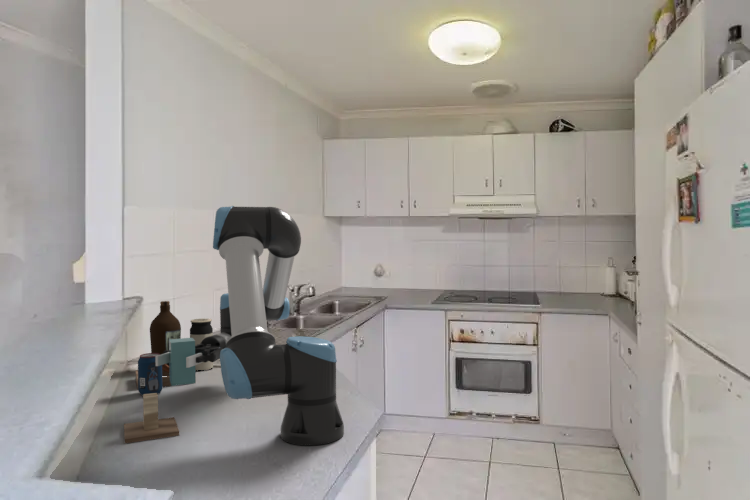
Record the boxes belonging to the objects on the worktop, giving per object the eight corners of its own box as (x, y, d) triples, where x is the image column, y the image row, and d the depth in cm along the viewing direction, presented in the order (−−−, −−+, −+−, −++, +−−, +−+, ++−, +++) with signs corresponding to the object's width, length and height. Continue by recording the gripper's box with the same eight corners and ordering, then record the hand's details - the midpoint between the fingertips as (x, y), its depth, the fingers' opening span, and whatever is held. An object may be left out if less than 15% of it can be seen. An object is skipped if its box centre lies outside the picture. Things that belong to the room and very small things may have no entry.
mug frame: (193, 383, 183) (193, 374, 183) (137, 389, 176) (137, 380, 176) (188, 373, 197) (187, 365, 197) (135, 379, 190) (135, 370, 189)
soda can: (149, 389, 176) (149, 351, 176) (167, 391, 174) (166, 353, 173) (133, 395, 170) (132, 356, 169) (151, 397, 167) (150, 357, 167)
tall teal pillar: (195, 383, 152) (195, 340, 152) (171, 385, 150) (170, 342, 150) (192, 378, 158) (192, 337, 158) (169, 381, 155) (168, 339, 155)
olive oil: (143, 371, 200) (142, 302, 200) (166, 365, 210) (165, 299, 209) (165, 374, 196) (164, 303, 195) (187, 368, 205) (186, 300, 205)
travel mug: (204, 372, 199) (203, 321, 199) (185, 370, 202) (184, 320, 201) (217, 367, 206) (216, 318, 206) (199, 365, 209) (199, 317, 209)
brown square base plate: (179, 435, 134) (178, 398, 134) (124, 443, 129) (124, 405, 129) (174, 420, 145) (173, 386, 145) (123, 427, 140) (123, 392, 140)
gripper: (248, 360, 168) (207, 377, 147) (186, 357, 174) (137, 374, 152) (248, 335, 168) (207, 349, 147) (185, 333, 174) (137, 346, 152)
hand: (172, 361), depth 149 cm, fingers closed on tall teal pillar, 9 cm apart
